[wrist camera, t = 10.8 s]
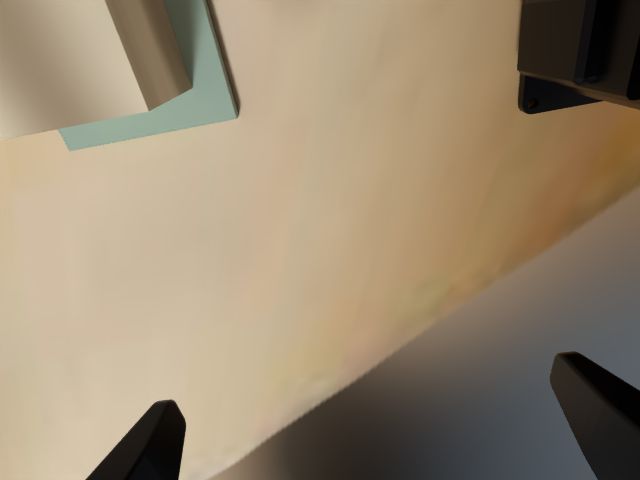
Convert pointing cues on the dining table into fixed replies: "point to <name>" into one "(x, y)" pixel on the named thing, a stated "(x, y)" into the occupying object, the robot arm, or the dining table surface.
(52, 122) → the birch block
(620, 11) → the robot arm
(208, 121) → the pad
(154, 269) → the dining table surface
